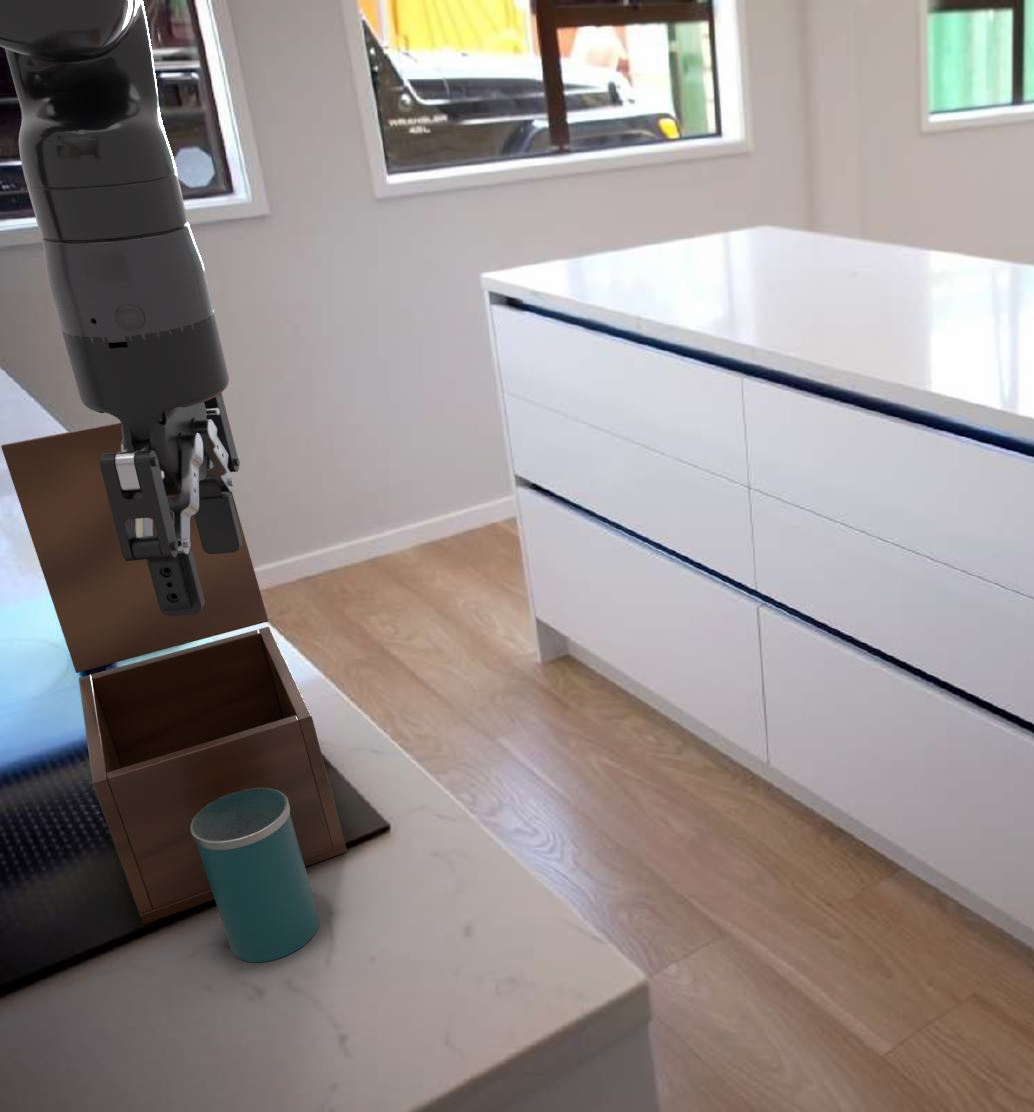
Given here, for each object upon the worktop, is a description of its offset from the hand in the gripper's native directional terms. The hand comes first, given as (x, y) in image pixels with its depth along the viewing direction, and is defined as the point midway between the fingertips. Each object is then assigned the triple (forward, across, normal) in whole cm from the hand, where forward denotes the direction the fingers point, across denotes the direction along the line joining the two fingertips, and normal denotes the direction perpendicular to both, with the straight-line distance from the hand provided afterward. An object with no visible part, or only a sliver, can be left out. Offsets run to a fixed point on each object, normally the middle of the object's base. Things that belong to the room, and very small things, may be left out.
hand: (205, 580), depth 76 cm
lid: (+2, -14, -8) cm, 16 cm away
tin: (+21, +7, +2) cm, 22 cm away
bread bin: (+21, -5, -4) cm, 22 cm away
